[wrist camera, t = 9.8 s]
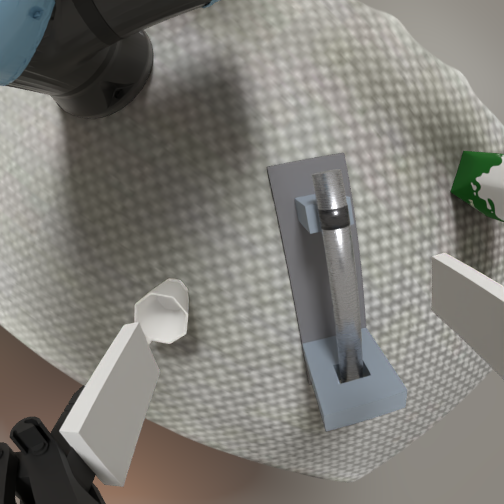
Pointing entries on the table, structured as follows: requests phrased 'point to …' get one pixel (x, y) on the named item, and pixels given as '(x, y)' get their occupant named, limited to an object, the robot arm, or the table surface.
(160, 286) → the cup
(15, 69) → the robot arm
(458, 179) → the milk carton
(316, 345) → the rig
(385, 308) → the table surface
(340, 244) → the shaft
